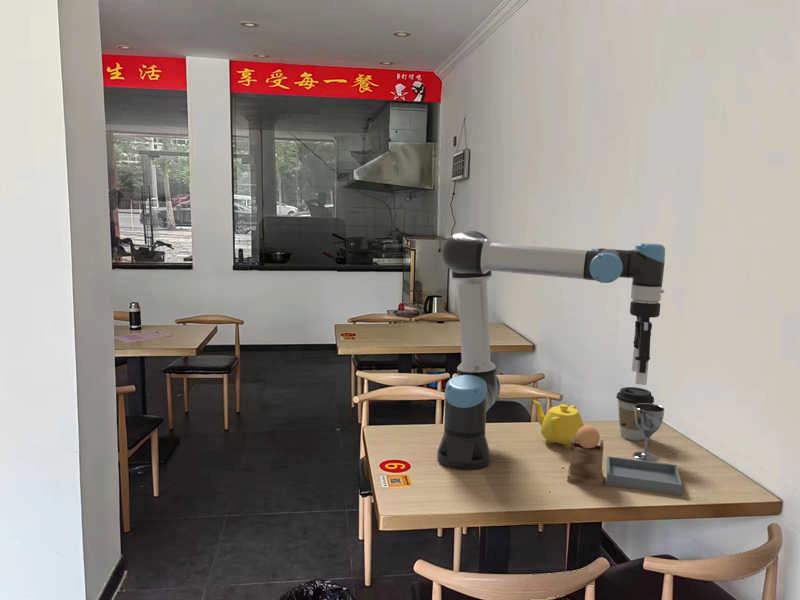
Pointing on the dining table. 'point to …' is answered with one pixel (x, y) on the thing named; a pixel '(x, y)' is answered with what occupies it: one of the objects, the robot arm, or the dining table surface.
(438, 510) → the dining table surface
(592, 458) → the stand
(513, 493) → the dining table surface
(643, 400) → the coffee cup
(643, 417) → the silver goblet
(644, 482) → the tray
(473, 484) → the dining table surface
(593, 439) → the ball
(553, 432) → the teapot
